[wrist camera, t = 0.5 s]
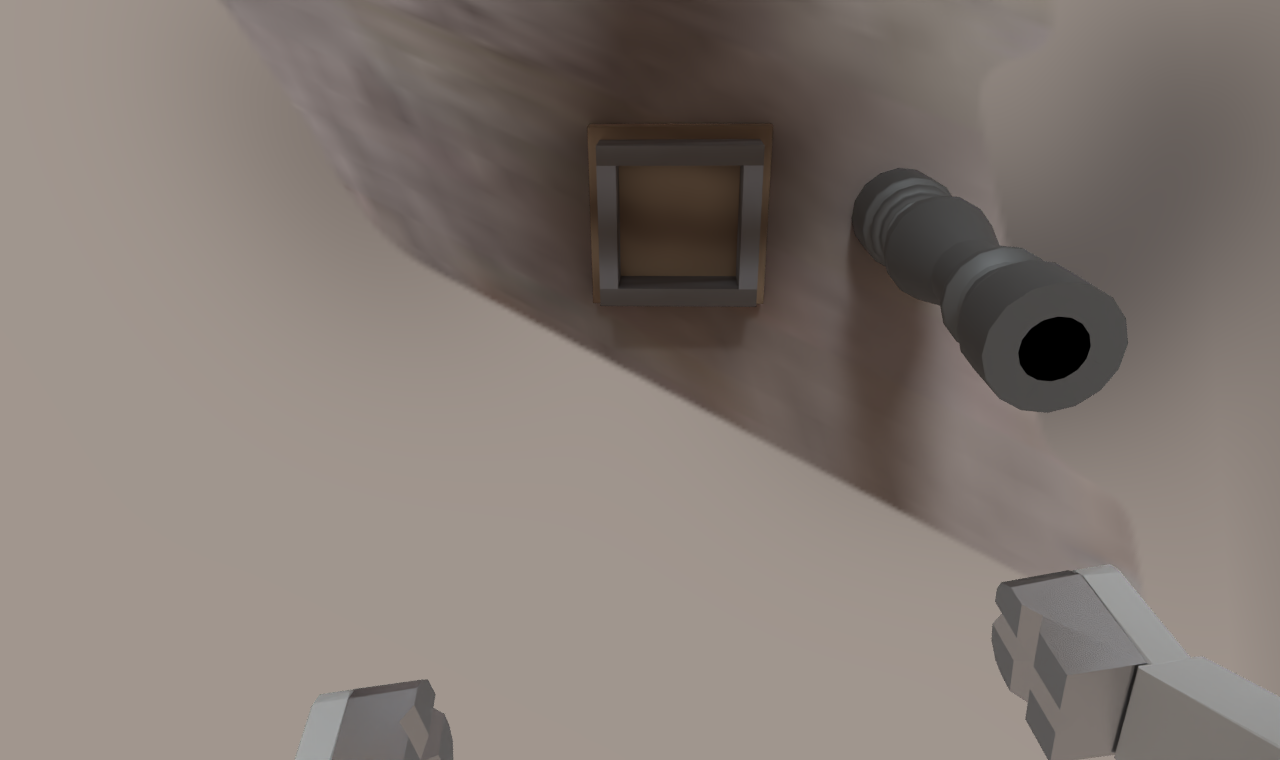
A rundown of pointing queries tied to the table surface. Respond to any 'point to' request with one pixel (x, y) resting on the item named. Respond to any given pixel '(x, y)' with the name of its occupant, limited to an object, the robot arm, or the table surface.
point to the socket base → (679, 213)
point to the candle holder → (993, 294)
